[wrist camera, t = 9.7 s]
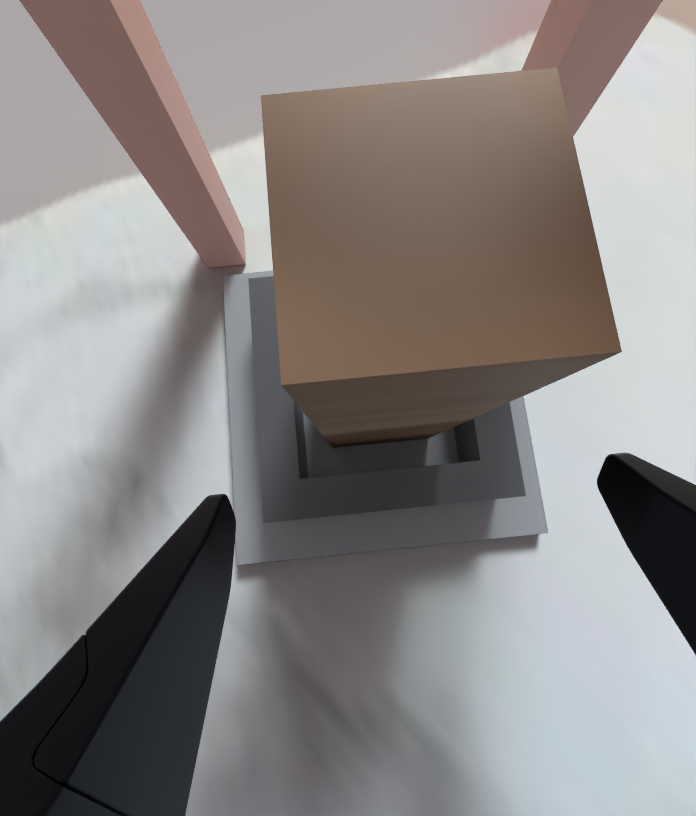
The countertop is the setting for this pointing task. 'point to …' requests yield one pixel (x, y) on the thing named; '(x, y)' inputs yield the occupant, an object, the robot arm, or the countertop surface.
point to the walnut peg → (429, 251)
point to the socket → (359, 463)
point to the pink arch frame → (180, 138)
